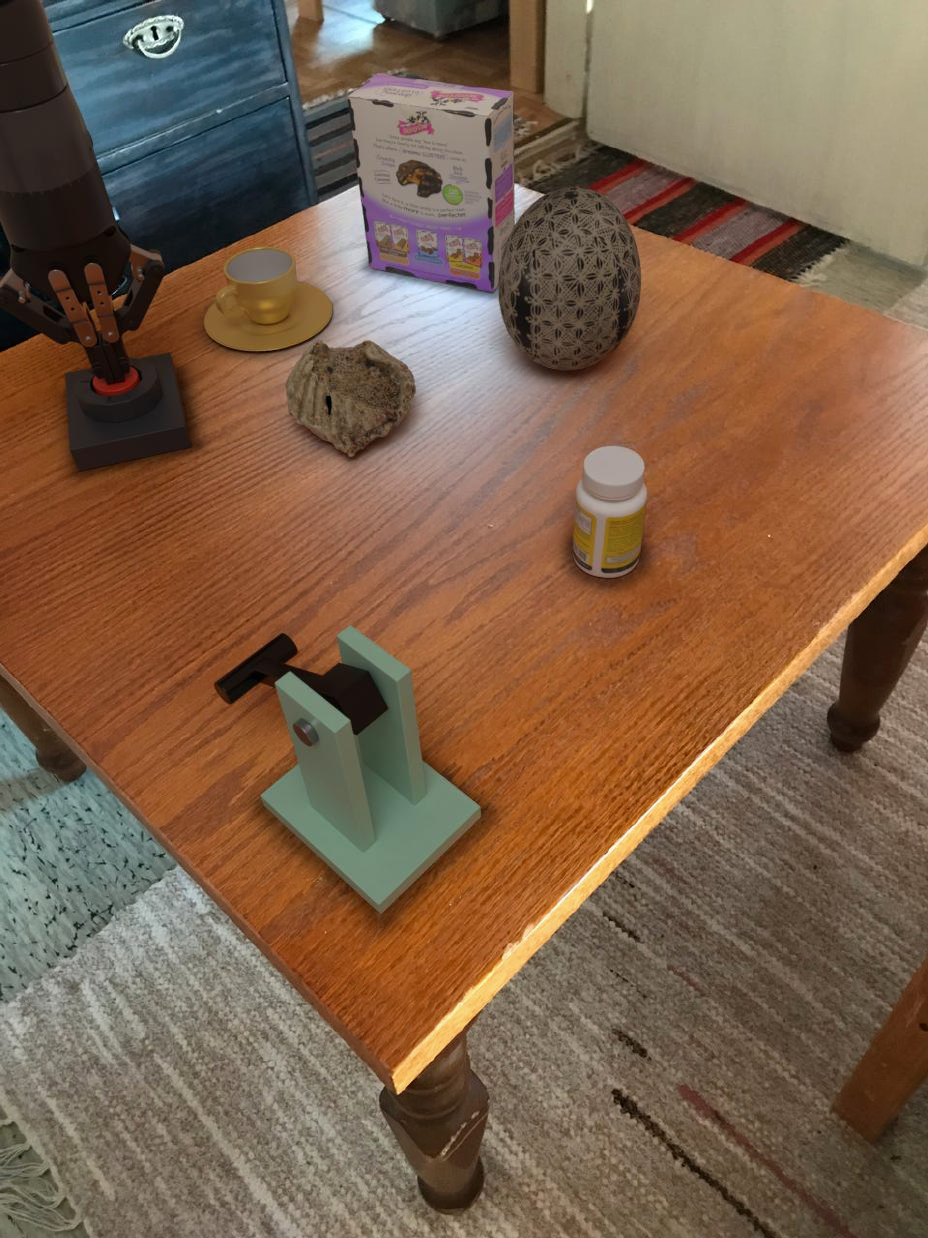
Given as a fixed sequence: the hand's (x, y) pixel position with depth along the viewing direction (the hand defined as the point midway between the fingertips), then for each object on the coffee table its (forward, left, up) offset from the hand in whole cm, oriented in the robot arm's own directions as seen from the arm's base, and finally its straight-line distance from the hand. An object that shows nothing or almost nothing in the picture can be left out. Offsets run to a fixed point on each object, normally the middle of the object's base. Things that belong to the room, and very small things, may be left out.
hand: (116, 377), depth 80 cm
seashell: (+19, +1, -4) cm, 19 cm away
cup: (+8, +16, -4) cm, 18 cm away
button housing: (0, 0, -4) cm, 4 cm away
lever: (+24, -33, +3) cm, 41 cm away
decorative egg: (+36, +11, -4) cm, 38 cm away
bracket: (+27, -35, -4) cm, 44 cm away
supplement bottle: (+40, -13, -4) cm, 42 cm away
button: (0, 0, -2) cm, 2 cm away
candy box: (+23, +26, -4) cm, 35 cm away
